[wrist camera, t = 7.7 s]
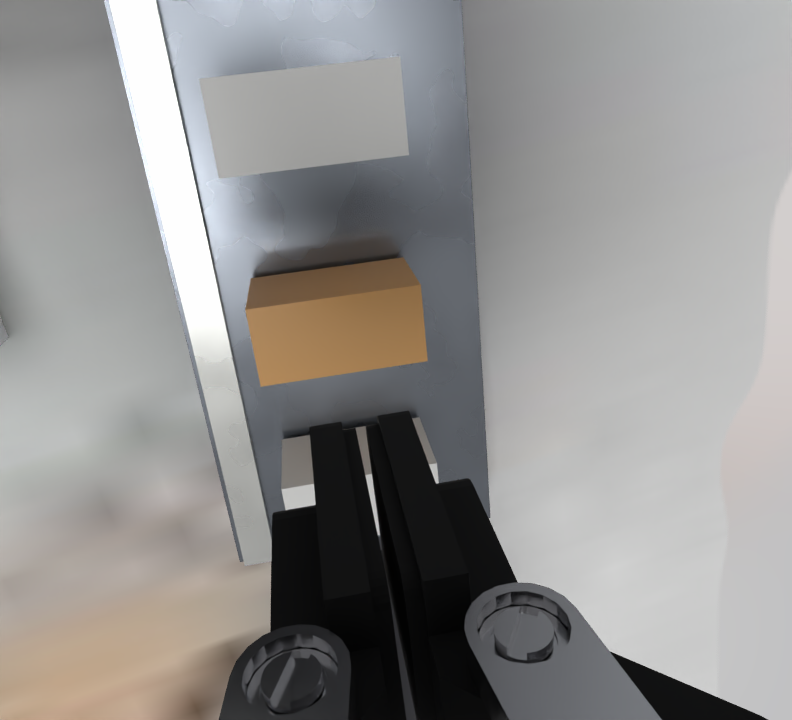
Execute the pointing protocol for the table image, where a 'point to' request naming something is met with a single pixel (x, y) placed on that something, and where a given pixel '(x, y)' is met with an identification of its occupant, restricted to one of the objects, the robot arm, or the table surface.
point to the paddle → (306, 116)
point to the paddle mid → (335, 321)
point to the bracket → (2, 333)
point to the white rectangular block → (300, 471)
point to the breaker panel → (310, 227)
